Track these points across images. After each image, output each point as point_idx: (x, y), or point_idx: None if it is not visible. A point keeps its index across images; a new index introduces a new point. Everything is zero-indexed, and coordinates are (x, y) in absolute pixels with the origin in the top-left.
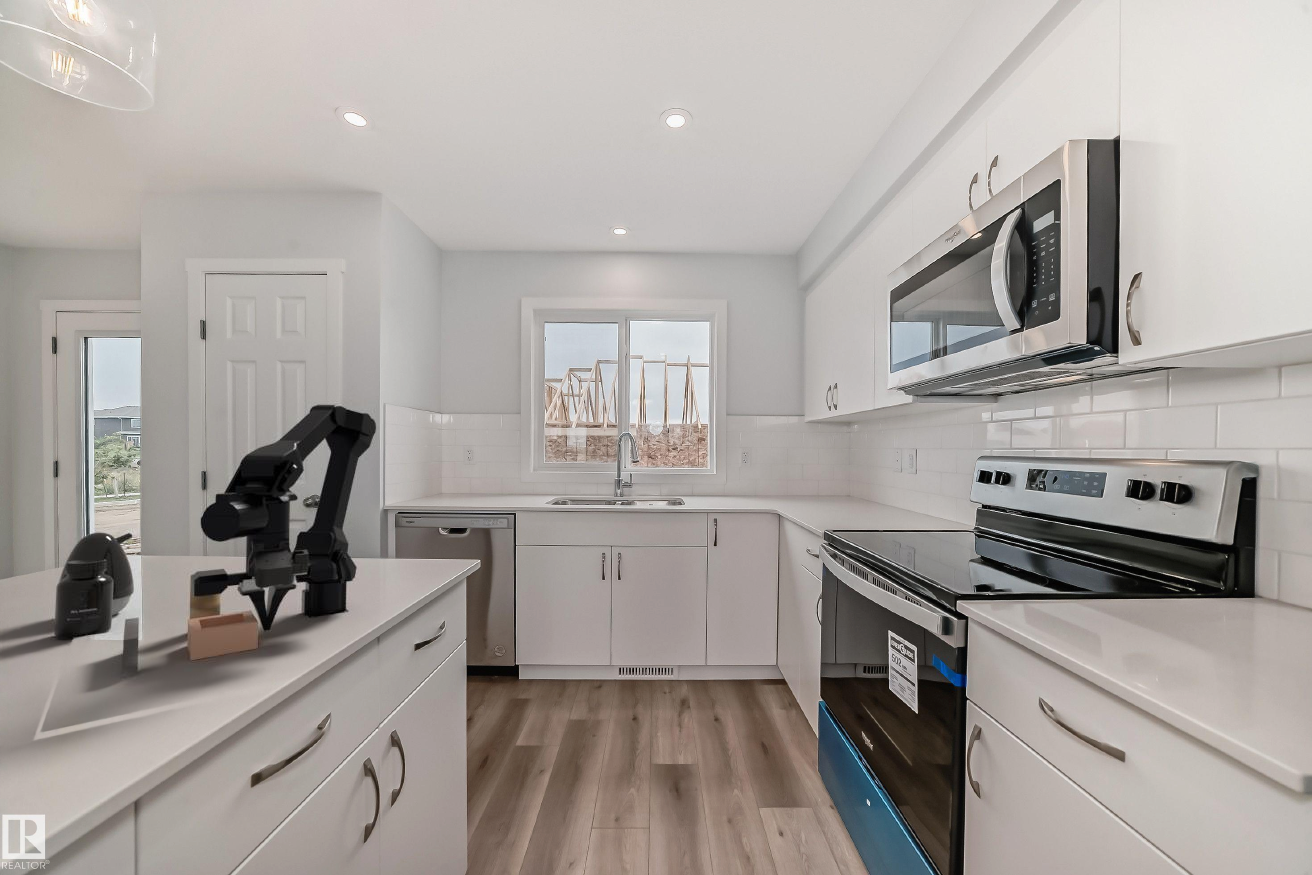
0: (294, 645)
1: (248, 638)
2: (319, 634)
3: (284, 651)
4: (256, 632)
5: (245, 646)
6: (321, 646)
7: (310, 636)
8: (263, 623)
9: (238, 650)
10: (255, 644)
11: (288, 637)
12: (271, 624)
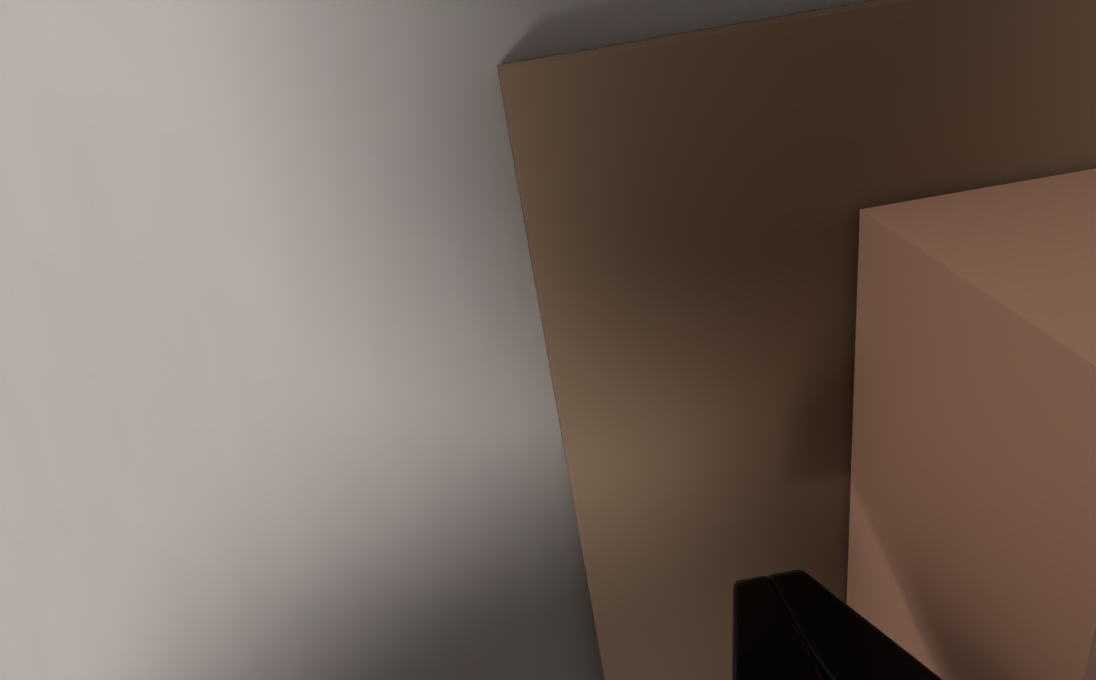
0: (419, 265)
1: (1080, 237)
2: (173, 558)
3: (533, 47)
4: (1016, 292)
5: (1034, 200)
6: (24, 18)
7: (267, 528)
8: (864, 635)
9: (1090, 172)
10: (914, 220)
11: (498, 583)
12: (737, 631)
